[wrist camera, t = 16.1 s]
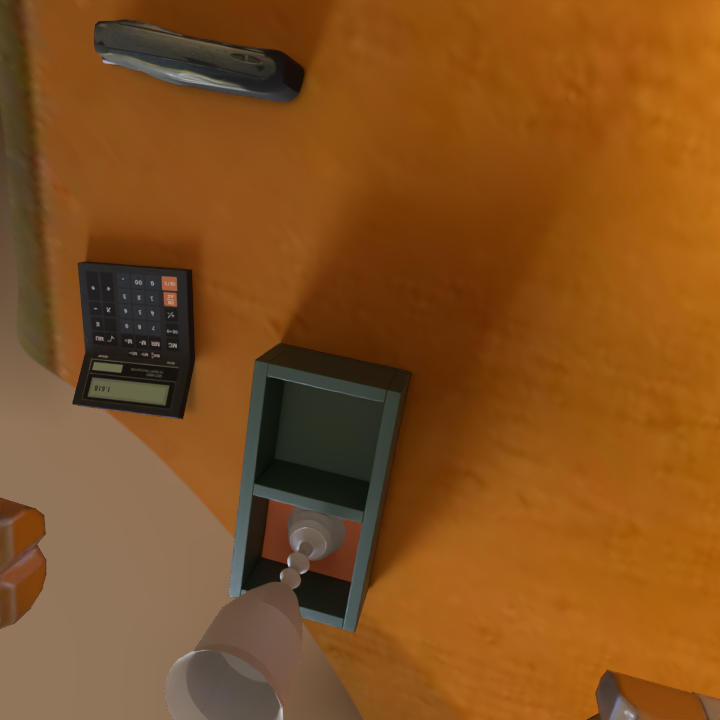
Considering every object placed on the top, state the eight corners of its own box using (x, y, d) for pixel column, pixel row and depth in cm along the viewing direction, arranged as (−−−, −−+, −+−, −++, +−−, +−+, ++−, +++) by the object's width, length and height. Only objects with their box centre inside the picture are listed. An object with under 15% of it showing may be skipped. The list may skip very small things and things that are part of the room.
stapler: (287, 42, 35) (62, 6, 37) (280, 96, 36) (60, 58, 38) (309, 61, 40) (108, 28, 41) (302, 108, 41) (106, 73, 42)
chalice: (363, 566, 48) (295, 766, 31) (286, 568, 50) (182, 758, 33) (348, 486, 46) (268, 650, 29) (269, 490, 48) (150, 648, 31)
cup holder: (410, 371, 44) (401, 392, 39) (367, 591, 50) (354, 633, 45) (279, 343, 45) (254, 359, 40) (252, 558, 51) (228, 595, 46)
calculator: (191, 269, 45) (171, 274, 42) (196, 409, 48) (178, 422, 46) (84, 261, 47) (59, 265, 44) (95, 397, 50) (72, 408, 47)
